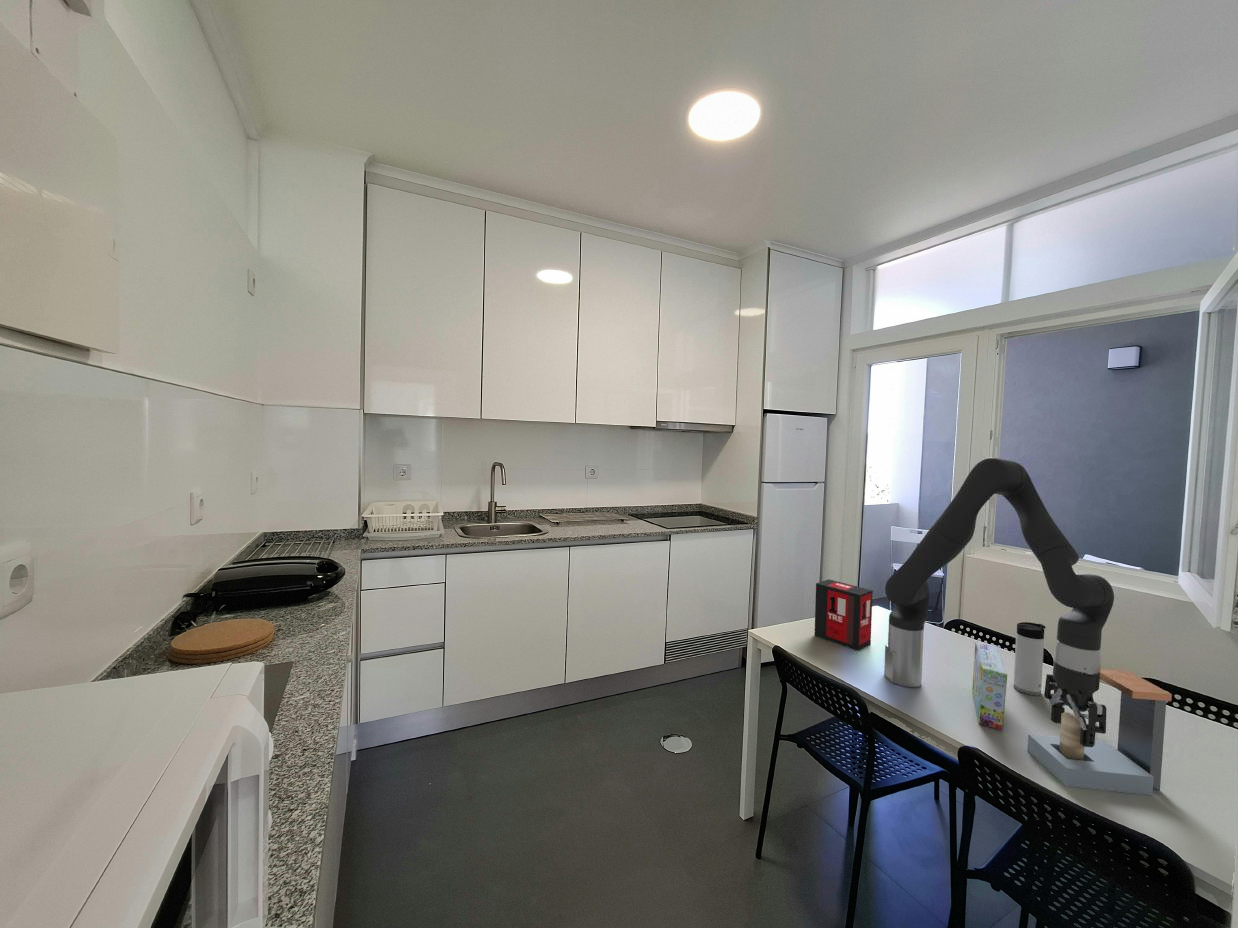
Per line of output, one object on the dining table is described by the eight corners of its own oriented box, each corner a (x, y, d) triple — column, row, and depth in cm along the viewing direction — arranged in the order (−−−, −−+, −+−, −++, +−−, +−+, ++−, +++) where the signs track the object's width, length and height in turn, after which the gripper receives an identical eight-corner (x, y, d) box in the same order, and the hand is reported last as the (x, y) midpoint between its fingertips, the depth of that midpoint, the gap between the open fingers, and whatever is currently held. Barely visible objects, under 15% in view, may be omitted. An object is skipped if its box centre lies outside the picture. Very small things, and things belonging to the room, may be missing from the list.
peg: (1067, 774, 106) (1070, 721, 106) (1053, 762, 110) (1056, 711, 110) (1087, 776, 106) (1091, 723, 105) (1073, 764, 110) (1076, 713, 109)
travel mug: (1047, 696, 138) (1051, 629, 137) (1021, 694, 140) (1025, 627, 139) (1033, 685, 144) (1037, 621, 143) (1008, 683, 146) (1012, 619, 145)
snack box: (1005, 732, 122) (1008, 674, 121) (978, 724, 125) (981, 668, 124) (994, 694, 140) (997, 644, 139) (970, 689, 143) (973, 639, 142)
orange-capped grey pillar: (1126, 789, 102) (1132, 691, 101) (1088, 758, 112) (1093, 668, 110) (1164, 793, 101) (1171, 694, 99) (1122, 761, 110) (1128, 671, 109)
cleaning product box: (870, 644, 173) (872, 590, 172) (858, 651, 167) (860, 595, 166) (827, 629, 186) (828, 579, 185) (814, 635, 180) (816, 583, 179)
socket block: (1065, 785, 103) (1066, 767, 102) (1027, 749, 114) (1028, 733, 114) (1152, 795, 100) (1153, 776, 100) (1104, 757, 112) (1105, 740, 112)
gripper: (1035, 648, 114) (1030, 713, 115) (1082, 677, 100) (1077, 752, 101) (1071, 650, 113) (1066, 717, 114) (1124, 681, 99) (1118, 756, 100)
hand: (1071, 733), depth 107 cm, fingers open, 8 cm apart
